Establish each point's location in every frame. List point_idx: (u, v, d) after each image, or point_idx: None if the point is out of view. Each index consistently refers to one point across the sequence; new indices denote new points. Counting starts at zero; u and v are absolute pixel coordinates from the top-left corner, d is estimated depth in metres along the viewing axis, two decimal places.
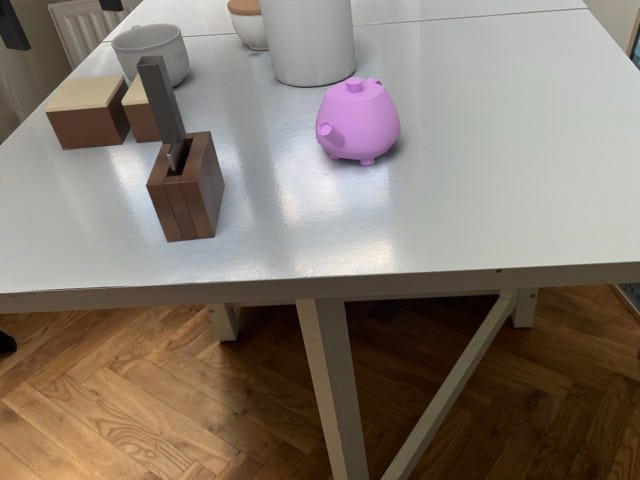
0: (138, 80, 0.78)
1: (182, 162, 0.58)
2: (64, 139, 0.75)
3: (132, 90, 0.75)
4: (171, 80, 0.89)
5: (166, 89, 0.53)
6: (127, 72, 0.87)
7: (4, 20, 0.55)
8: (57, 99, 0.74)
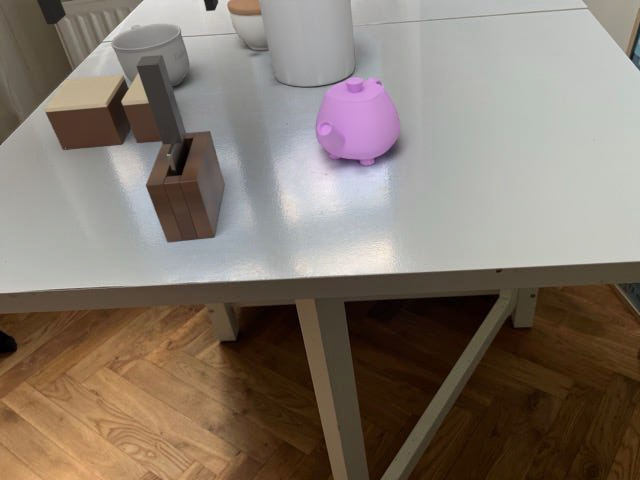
0: (138, 80, 0.78)
1: (182, 162, 0.58)
2: (64, 139, 0.75)
3: (132, 90, 0.75)
4: (171, 80, 0.89)
5: (166, 89, 0.53)
6: (127, 72, 0.87)
7: None
8: (57, 99, 0.74)
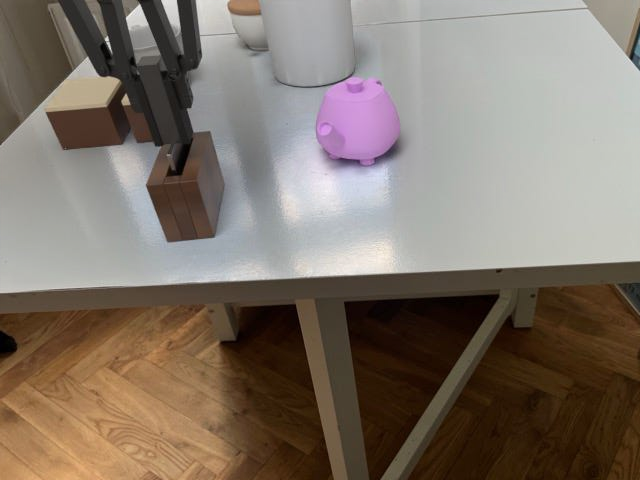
0: None
1: (182, 162, 0.58)
2: (64, 139, 0.75)
3: None
4: None
5: None
6: None
7: None
8: (57, 99, 0.74)
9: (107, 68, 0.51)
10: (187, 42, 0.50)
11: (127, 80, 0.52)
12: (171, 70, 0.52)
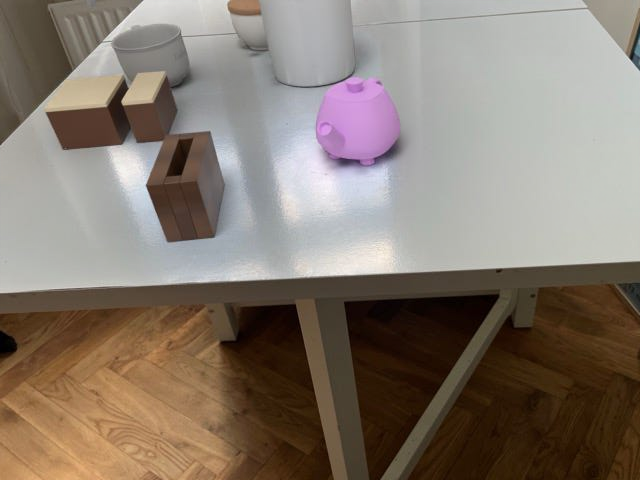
0: (138, 80, 0.78)
1: None
2: (64, 139, 0.75)
3: (132, 90, 0.75)
4: (171, 80, 0.89)
5: None
6: (127, 72, 0.87)
7: None
8: (57, 99, 0.74)
9: None
10: None
11: None
12: None
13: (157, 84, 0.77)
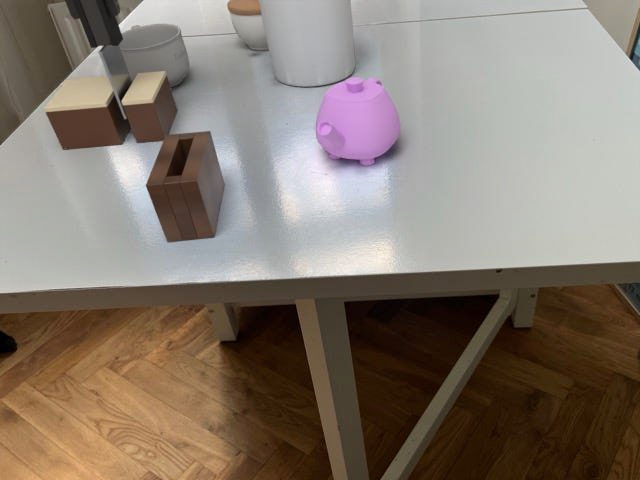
0: (138, 80, 0.78)
1: (114, 63, 0.74)
2: (64, 139, 0.75)
3: (132, 90, 0.75)
4: (171, 80, 0.89)
5: None
6: None
7: None
8: (57, 99, 0.74)
9: None
10: None
11: None
12: None
13: (157, 84, 0.77)
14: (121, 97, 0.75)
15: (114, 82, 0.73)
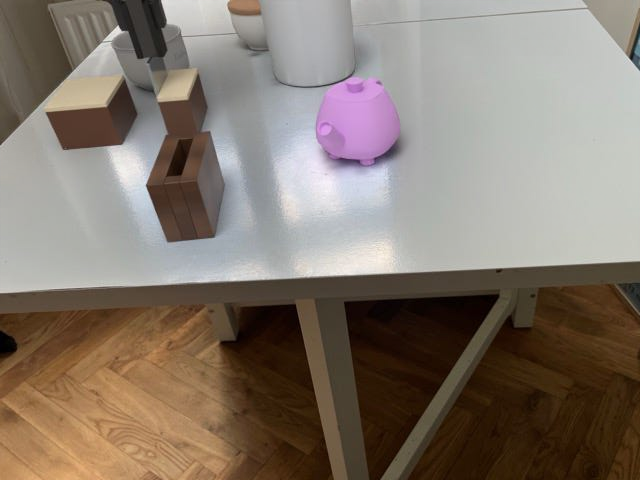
0: (171, 77, 0.78)
1: (158, 74, 0.75)
2: (64, 139, 0.75)
3: (166, 87, 0.76)
4: None
5: None
6: (127, 72, 0.87)
7: None
8: (57, 99, 0.74)
9: None
10: None
11: (115, 3, 0.69)
12: None
13: (190, 81, 0.77)
14: None
15: None
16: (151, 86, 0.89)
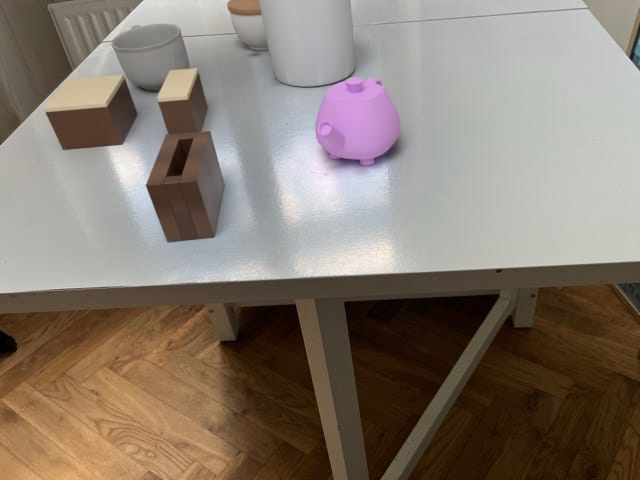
0: (171, 77, 0.78)
1: None
2: (64, 139, 0.75)
3: (166, 87, 0.76)
4: None
5: None
6: (127, 72, 0.87)
7: None
8: (57, 99, 0.74)
9: None
10: None
11: None
12: None
13: (191, 81, 0.77)
14: None
15: None
16: (151, 86, 0.89)
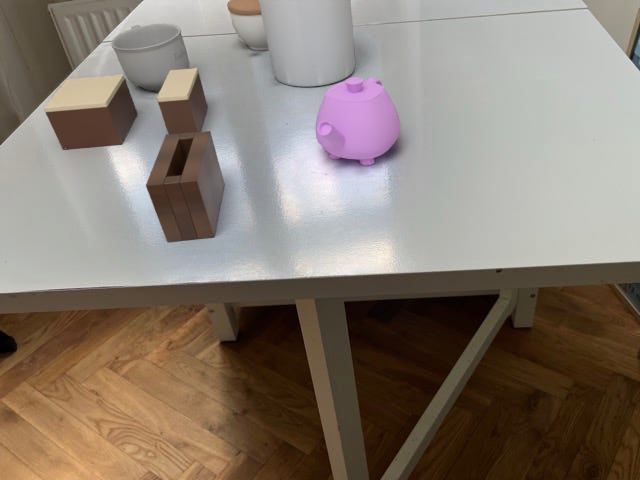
0: (171, 77, 0.78)
1: None
2: (64, 139, 0.75)
3: (166, 87, 0.76)
4: None
5: None
6: (127, 72, 0.87)
7: None
8: (57, 99, 0.74)
9: None
10: None
11: None
12: None
13: (191, 81, 0.77)
14: None
15: None
16: (151, 86, 0.89)
